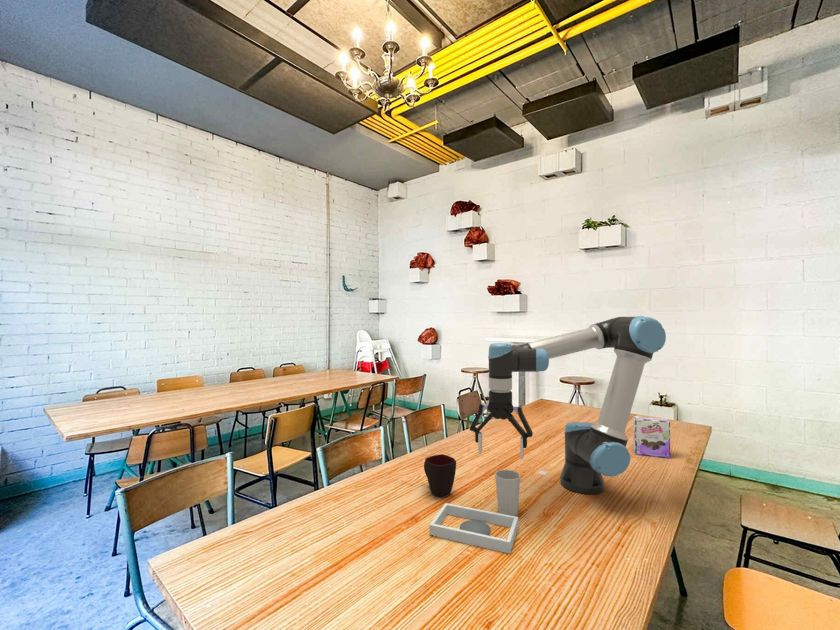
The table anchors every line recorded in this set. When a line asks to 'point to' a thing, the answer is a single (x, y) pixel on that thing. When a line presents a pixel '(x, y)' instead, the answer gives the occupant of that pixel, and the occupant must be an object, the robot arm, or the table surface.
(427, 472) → the mug
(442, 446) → the table surface
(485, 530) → the pad
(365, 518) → the table surface
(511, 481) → the cup
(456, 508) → the open rectangular frame
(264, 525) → the table surface
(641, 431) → the candy box
